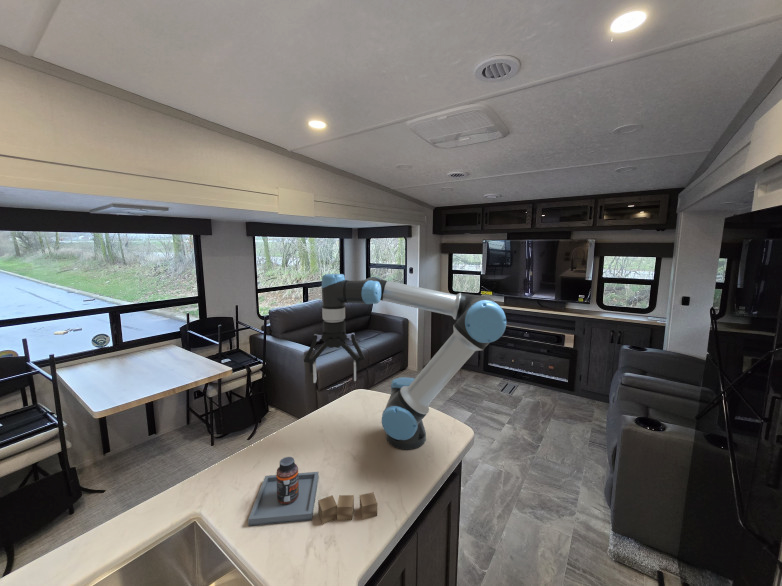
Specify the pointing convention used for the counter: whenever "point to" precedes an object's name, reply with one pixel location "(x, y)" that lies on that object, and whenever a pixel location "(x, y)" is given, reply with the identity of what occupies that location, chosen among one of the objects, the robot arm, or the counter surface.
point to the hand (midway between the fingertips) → (335, 380)
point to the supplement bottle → (287, 481)
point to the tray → (275, 512)
